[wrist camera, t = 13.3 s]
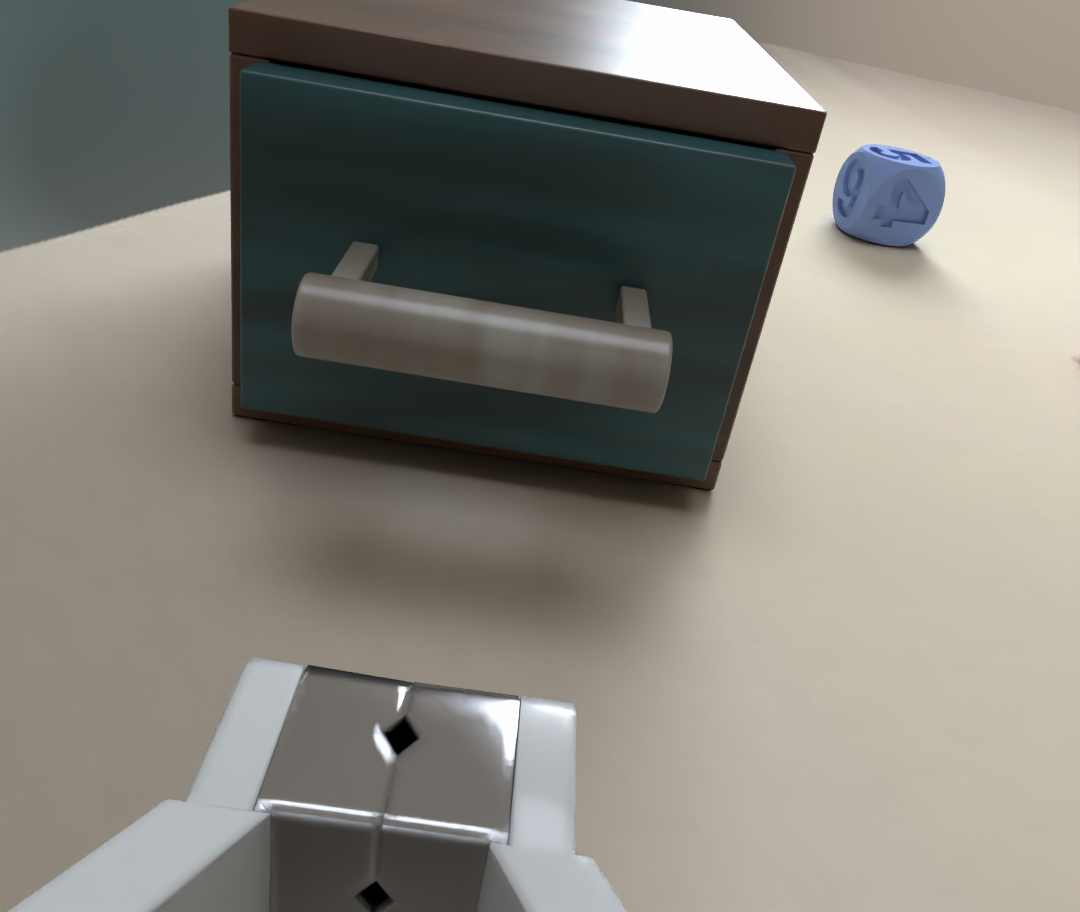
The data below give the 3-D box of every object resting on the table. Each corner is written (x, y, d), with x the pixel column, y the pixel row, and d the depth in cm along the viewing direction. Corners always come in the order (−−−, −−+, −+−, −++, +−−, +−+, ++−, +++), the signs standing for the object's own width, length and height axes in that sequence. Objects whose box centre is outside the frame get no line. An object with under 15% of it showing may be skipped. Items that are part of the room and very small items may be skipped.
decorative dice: (927, 250, 49) (956, 171, 47) (854, 242, 48) (881, 161, 46) (892, 224, 52) (919, 149, 50) (823, 216, 51) (848, 139, 49)
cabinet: (714, 491, 26) (828, 112, 21) (230, 415, 25) (227, 6, 20) (671, 279, 39) (733, 19, 34) (356, 227, 39) (373, -45, 34)
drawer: (726, 594, 20) (845, 233, 16) (173, 509, 20) (154, 114, 16) (665, 276, 37) (717, 55, 33) (361, 225, 36) (375, -5, 32)
